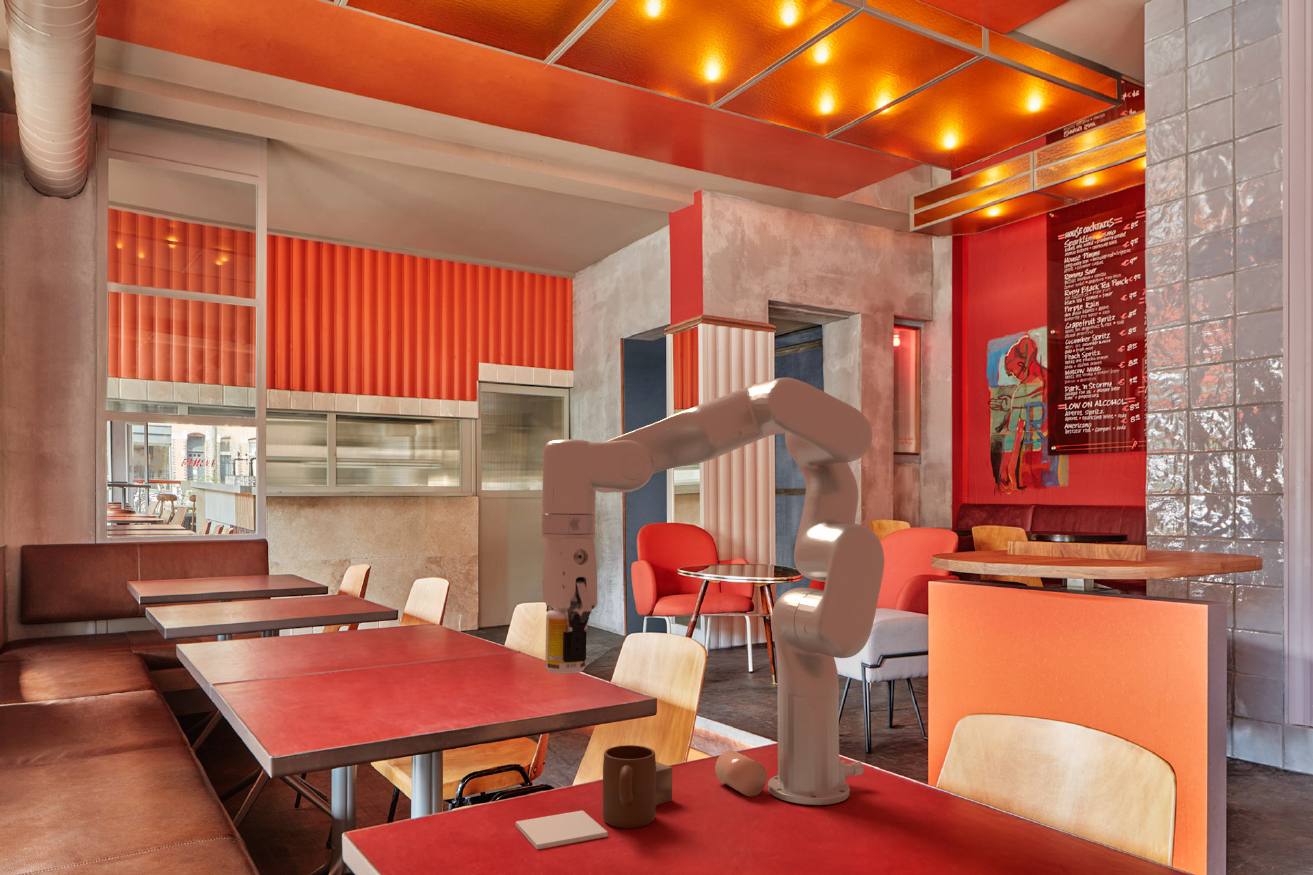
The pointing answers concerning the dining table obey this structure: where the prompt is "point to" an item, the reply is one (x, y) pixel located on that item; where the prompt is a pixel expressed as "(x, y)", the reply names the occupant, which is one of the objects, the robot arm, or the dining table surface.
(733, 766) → the capsule
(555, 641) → the supplement bottle
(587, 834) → the coaster
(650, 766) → the mug
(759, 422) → the robot arm
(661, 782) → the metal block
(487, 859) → the dining table surface
